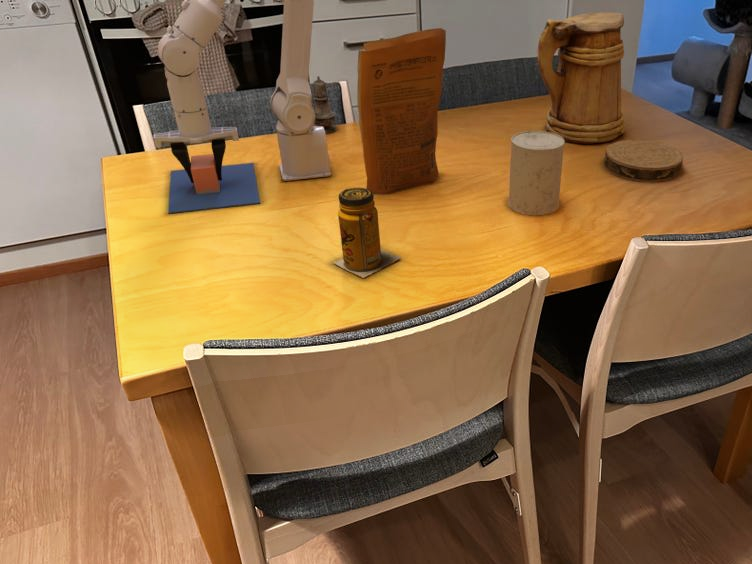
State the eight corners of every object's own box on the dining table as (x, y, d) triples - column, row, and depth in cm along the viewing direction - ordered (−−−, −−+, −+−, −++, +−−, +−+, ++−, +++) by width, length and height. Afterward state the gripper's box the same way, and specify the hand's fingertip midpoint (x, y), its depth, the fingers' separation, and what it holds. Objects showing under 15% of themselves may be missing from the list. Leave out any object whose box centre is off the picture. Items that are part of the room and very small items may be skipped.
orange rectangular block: (219, 178, 137) (213, 153, 134) (220, 192, 132) (214, 167, 129) (196, 180, 136) (190, 155, 133) (196, 194, 131) (190, 169, 128)
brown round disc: (648, 188, 138) (651, 174, 136) (588, 164, 147) (590, 150, 145) (695, 169, 146) (698, 155, 145) (636, 147, 156) (638, 134, 154)
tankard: (639, 136, 162) (658, 19, 147) (558, 154, 152) (569, 30, 137) (590, 114, 174) (603, 3, 159) (512, 129, 164) (517, 13, 149)
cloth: (253, 164, 144) (253, 162, 144) (260, 203, 129) (259, 202, 129) (171, 172, 140) (171, 170, 140) (168, 214, 125) (168, 212, 125)
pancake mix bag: (456, 180, 139) (456, 29, 122) (371, 202, 130) (358, 42, 113) (438, 169, 144) (435, 22, 127) (354, 189, 135) (340, 34, 118)
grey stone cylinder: (564, 198, 134) (570, 134, 126) (551, 218, 126) (557, 152, 119) (516, 190, 136) (519, 128, 128) (501, 210, 129) (504, 145, 121)
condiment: (332, 263, 112) (323, 193, 105) (371, 245, 117) (365, 177, 110) (363, 279, 108) (356, 207, 101) (402, 259, 113) (398, 190, 106)
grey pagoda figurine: (331, 135, 159) (325, 80, 151) (307, 132, 159) (300, 78, 152) (341, 126, 163) (335, 73, 156) (317, 124, 164) (310, 71, 157)
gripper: (145, 118, 120) (165, 192, 128) (233, 111, 124) (247, 183, 132) (147, 105, 126) (166, 177, 134) (231, 99, 129) (245, 169, 137)
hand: (206, 179), depth 133 cm, fingers closed on orange rectangular block, 4 cm apart
